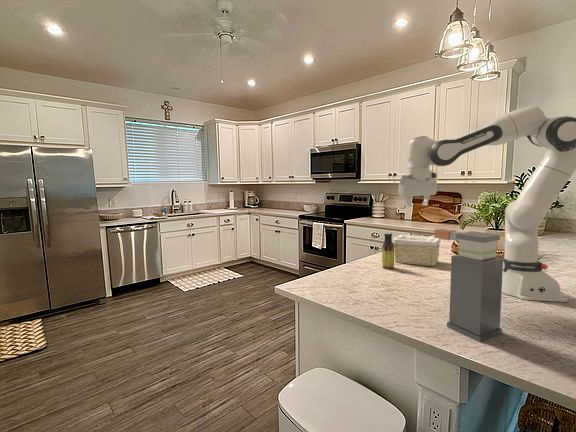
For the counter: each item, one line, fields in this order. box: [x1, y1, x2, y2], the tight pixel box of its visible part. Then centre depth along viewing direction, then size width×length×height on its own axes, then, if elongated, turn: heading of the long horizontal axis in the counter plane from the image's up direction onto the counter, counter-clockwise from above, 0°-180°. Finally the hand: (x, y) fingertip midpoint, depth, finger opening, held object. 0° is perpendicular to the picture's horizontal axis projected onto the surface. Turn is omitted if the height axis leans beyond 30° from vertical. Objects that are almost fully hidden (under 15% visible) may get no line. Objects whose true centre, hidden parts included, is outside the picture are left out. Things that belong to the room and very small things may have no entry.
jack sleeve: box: [446, 254, 504, 343], centre depth 96 cm, size 11×11×24 cm
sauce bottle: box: [381, 232, 395, 270], centre depth 168 cm, size 7×6×20 cm
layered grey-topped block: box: [433, 228, 501, 262], centre depth 100 cm, size 18×8×24 cm, turn 26°
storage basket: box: [392, 234, 441, 267], centre depth 179 cm, size 24×16×15 cm
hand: (417, 206), depth 133 cm, fingers open, 8 cm apart
